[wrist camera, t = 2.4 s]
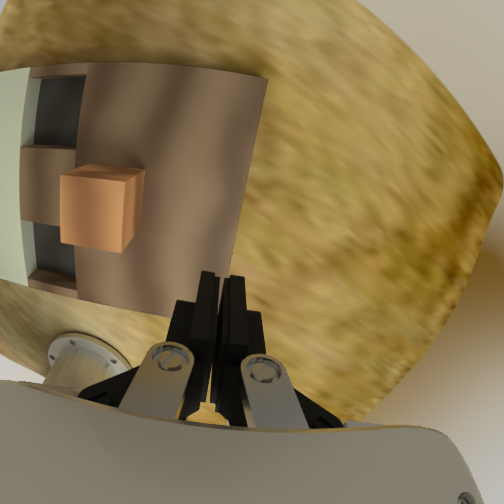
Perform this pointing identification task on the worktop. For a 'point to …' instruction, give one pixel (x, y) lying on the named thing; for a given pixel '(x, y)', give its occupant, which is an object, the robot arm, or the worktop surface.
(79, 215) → the block
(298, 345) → the worktop surface
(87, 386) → the robot arm
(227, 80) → the track
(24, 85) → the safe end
